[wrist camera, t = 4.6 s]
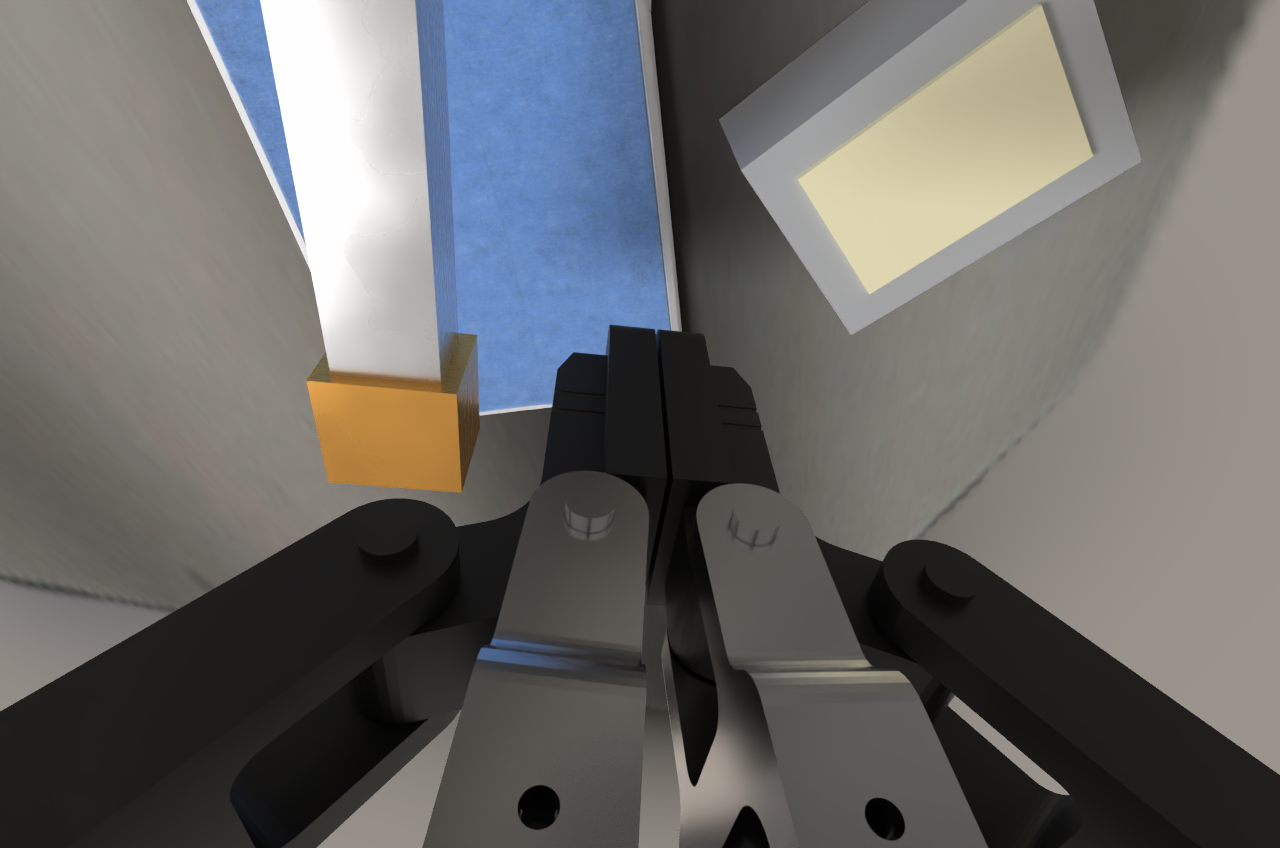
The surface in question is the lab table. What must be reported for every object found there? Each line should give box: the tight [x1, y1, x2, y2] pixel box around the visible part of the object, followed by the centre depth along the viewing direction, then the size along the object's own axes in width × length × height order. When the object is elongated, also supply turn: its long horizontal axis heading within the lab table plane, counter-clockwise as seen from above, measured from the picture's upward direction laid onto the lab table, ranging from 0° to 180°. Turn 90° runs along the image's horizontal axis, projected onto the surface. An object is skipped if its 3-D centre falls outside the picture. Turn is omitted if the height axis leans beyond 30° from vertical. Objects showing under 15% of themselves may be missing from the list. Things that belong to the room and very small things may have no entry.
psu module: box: [719, 0, 1142, 335], centre depth 19 cm, size 8×6×5 cm
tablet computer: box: [187, 0, 682, 415], centre depth 21 cm, size 19×13×1 cm, turn 7°
